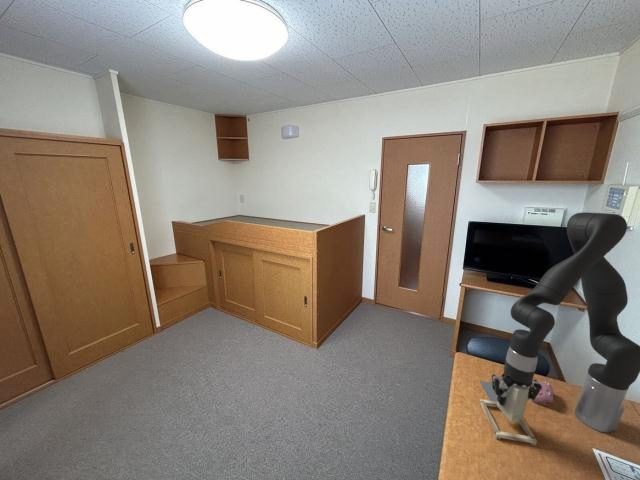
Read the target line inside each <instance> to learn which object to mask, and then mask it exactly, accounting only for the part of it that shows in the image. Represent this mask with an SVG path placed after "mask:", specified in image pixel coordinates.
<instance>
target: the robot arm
mask: <svg viewBox="0 0 640 480" xmlns="http://www.w3.org/2000/svg"><path fill="white" fill-rule="evenodd" d="M566 224H567V225H566V233H567V238H568V240H569V243H570V246H571V249H572V251H573V255H571V256H570V257H567V258H566V259H564V260H562V261H560V262H559V263H557V264H555V265H553V266H552V267H550V268H549V269H548V270H547V271H546V272H544V274H543V276H542V277H541V278H540V280H539V281H538V282H537V284H536V285H535V287H534V288H533V289H531V290H530V291H528V292H527V293H526V294H525V295H523V296H521V298H519V299H517V301H515V303H513V305H512V306H511V308H510V316H511V318H512V319H513V320H514V321H516V322H517V323H519V324H520V325H522V326H524V327H526V328H527V329H528V330H526V329H518V328H517V329H516V330H514V331H513V333H512V335H511V340H510V343H509V347H508V350H507V353H506V358H505V362H504V365H503V373H502V374H501V375H499V376H498V375H496V374H492V375H491V382H492V388H493V390H494V391H495V393H496V395H498V397H497V400H498V402H499V404H500V405H501V406H504V403H505V399H506V398H505V396H506V395H507V394H508V393H509V394H510V393H511V391H512V388H513V387H517V385H519V386H521V387H522V388H526V387H528V388H529V393H528V397H527V401H526V403H527V402H528V401H529V400H531V399H532V400H534V399H535V398H536V396H539V395H538V394H539V391H540V390H541V388H542V386H541V385H540V384H539V382H540V381H538V380H537V379H534V377H535V372H536V370H537V364H538V357H539V353H540V352H539V351H540V349H541V345H542V344H543V342H544V340H545V339H546V337H547V336H548V335H549V334H550V333H551V331H552V330H553V329H554V327H555V325H556V322H555V317H554V315H553V314H552V312H550V311H547V310H546V309H543V308H541V307H539V306H540V305H542V304H548V305H553V306H559V305H561V304H562V302H563V301H564V300H565V299H566V297H567V296H568V294H569V293H570V292H571V291H572V289H573V288H574V286H575V285H576V284H577V283H578V282H579V280H580V283H581V289H582V293H583V297H584V300H585V306H586V311H587V316H588V323H589V324H588V325H589V343H590V345H591V347H592V349H593V350H594V351H595V352H596V353H597V354H598V355H600V356H601V357H602V358H603V359H604V360H606V363H605V364H604V363H597V362H594V363H591V364H590V365H589V366H588V369H587V373H586V376H585V378H584V382H583V385H582V388H581V390H580V394H579V395H578V396H579V397H578V399H577V403H576V406H575V409H574V414H575V416H576V418H577V419H579V421H581V422H582V423H583V424H585V425H586V426H587V427H589V428H591V429H593V430H596V431H598V432H601V433H606V434H607V433H611V432H612V431H617V428H618V426H619V423H620V420H621V419H622V415H623V413H624V410H625V407H624V405H623V403H624V401H625V398H626V396H627V393H628V391H629V388H630V386H631V385H633V383H635V381H637V379H638V377H639V375H640V345H639V344H638V343H636V342H634V341H633V340H631V339H630V338H628V337H626V336H625V335H624V334H622V332H621V331H620V327H619V323H618V317H619V315H620V314H621V313H622V312H623V311H624V310H625V309H626V307H627V304H628V299H629V297H628V291H627V286H626V282H625V280H624V278H623V277H622V275H621V274H620V272H618V270H617V269H616V268H615V267H614V266H613V265H612V264H611V263H610V262H609V261H608V260H607V258H605V256H606V255H607V254H608V253H609V252H611V251H612V249H614V248H615V247H616V246H617V245H618V244H619V243H620V242H621V240H622V239H623V238H624V236H625V235H626V233H627V230H628V223H627V221H626V219H625V218H624V217H623V216H621V215H620V214H616V213H609V212H608V213H607V212H606V213H605V212H604V213H603V212H588V211H587V212H577V213H574V214H572V215H571V216H570V217H569V219H568V220H567V223H566ZM502 381H504V382H502ZM504 383H505V384H506V386H507V387H508V388H506V387H505V385H504ZM499 384H501V386H500V387H499ZM503 390H504V391H503ZM532 400H531V401H532Z"/></svg>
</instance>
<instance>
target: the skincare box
mask: <svg viewBox="0 0 640 480" xmlns="http://www.w3.org/2000/svg"><path fill="white" fill-rule="evenodd" d="M502 382H504V381H501V383H502ZM504 385H505V387H506V388H508V387H507V386H506V384H505V383H504ZM503 391H504V390H503ZM528 393H529V387H526V388H522V387H521V386H519V385H517V387H513V388H512V391H511V393H510V394H509V393H508V394H507V395H506V396H505V398H506V399H505V403H504V406H501V405H500V404H499V402H497V406H498V407H497V408H498V409H499V410H500V411H501V412H502V413H503V414H504V415H505V416H506V418H508V420H509V421H511V422H513V421H514V422H515V421H518V420H522V419H524V414H525V411H526V406H527V402H528V400H527V397H528ZM526 401H527V402H526Z"/></svg>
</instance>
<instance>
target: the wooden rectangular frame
mask: <svg viewBox="0 0 640 480" xmlns="http://www.w3.org/2000/svg"><path fill="white" fill-rule="evenodd" d="M478 404H479V406H480V407H481V408H482V411H483V412H484V414H485V416H486V418H487V421H488V422H489V425H490V426H491V428H492V431H493V433H494V438H495V439H496V440H501V438H502V439H507V440H513V441H517V442H524V443H529V444H530V446H537V442H538V440H537V439H536V437H535V435H534V434H533V432H532V430H531V429H530V427H529V425H528V424H527V423H526V421H525V419H524V418H523V419H522V420H517V421H518V422H519V425H520V426H521V427H522V429H523V431H524V432H525V434H526V435H525V434H520V433H519V434H517V433H512V432H506V431H501V430H499V428H498V425H497V424H496V421H495V419H494V418H493V415H492V414H491V412H490V410H489V408H488V406H489V407H495V408H499V407H498V406H497V402H495V401H490V400H489V399H488V400H487V399H481V398H479V402H478Z"/></svg>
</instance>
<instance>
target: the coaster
mask: <svg viewBox="0 0 640 480" xmlns="http://www.w3.org/2000/svg"><path fill="white" fill-rule="evenodd" d="M479 383H480V384H481V387H482V388H483V390H484V392H485V394H486V396H487V398H488V400H489V401H495V402H498V400H497V397H498V395H496V393H495V391H494V390H493V388H492V381H483V380H480V381H479ZM500 386H501V384H499V387H500Z"/></svg>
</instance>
